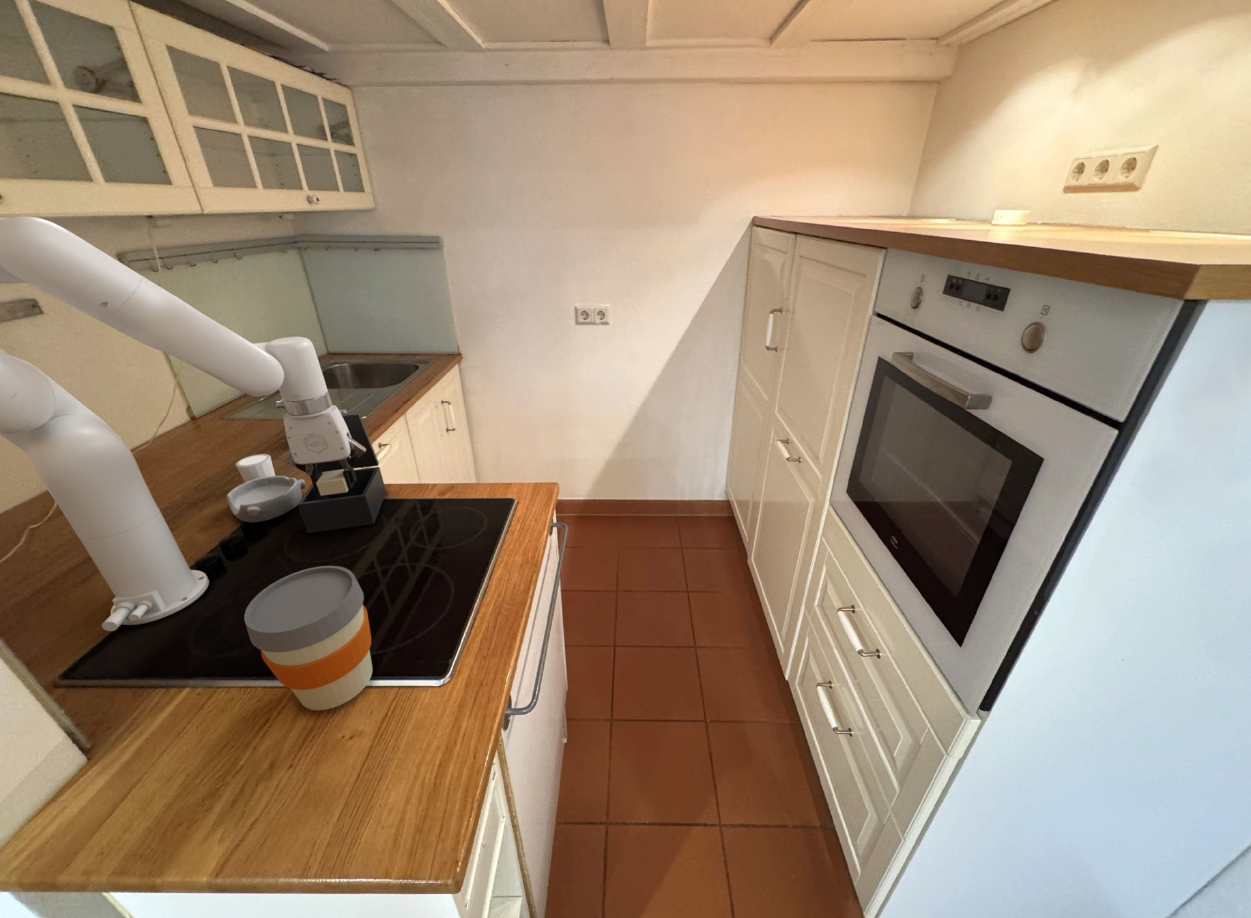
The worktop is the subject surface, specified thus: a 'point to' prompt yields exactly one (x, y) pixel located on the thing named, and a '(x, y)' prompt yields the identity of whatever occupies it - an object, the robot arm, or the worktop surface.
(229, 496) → the dish
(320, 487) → the cream rectangular block
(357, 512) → the dark grey storage bin
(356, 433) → the lid
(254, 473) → the white fluted cup
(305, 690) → the reusable coffee cup
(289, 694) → the worktop surface
